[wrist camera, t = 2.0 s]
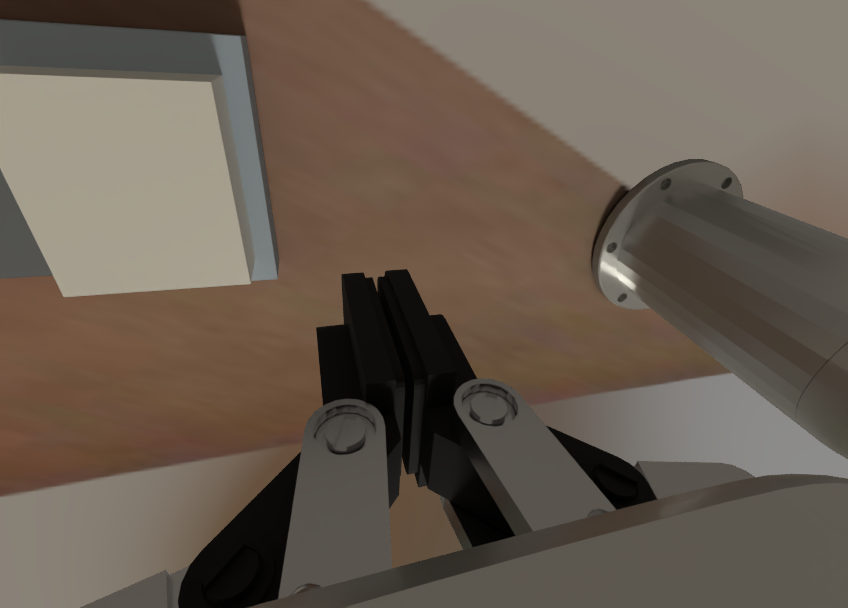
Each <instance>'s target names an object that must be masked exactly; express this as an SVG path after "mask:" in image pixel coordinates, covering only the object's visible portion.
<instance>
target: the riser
mask: <svg viewBox="0 0 848 608" xmlns="http://www.w3.org/2000/svg"><path fill="white" fill-rule="evenodd" d="M1 65H9V66H31V67H54V68H76V69H99V70H121V71H144V72H166V73H189V74H211V75H222V76H223V82H224V87H225V93H226V98H227V104H228V109H229V115H230V120H231V126H232V131H233V137H234V142H235V148H236V153H237V159H238V164H239V170H240V175H241V180H242V186H243V191H244V197H245V202H246V208H247V213H248V219H249V224H250V230H251V235H252V241H253V246H254V252H255V263H254V268H253V274H252V279H251V281H257V280H271V279H278V268H279V255H278V249H277V242H276V235H275V228H274V221H273V215H272V208H271V201H270V194H269V188H268V181H267V174H266V167H265V160H264V154H263V147H262V140H261V133H260V127H259V120H258V113H257V106H256V99H255V93H254V86H253V79H252V72H251V66H250V59H249V52H248V45H247V38H246V35H231V34H216V33H201V32H186V31H171V30H156V29H141V28H126V27H111V26H96V25H81V24H66V23H51V22H37V21H22V20H7V19H0V66H1Z"/></svg>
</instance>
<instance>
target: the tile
mask: <svg viewBox="0 0 848 608" xmlns="http://www.w3.org/2000/svg"><path fill="white" fill-rule="evenodd" d="M0 169H1V171H2V173H3V175H4V177H5V179H6V181H7V183H8V185H9V187H10V190H11V192H12V194H13V196H14V198H15V200H16V202H17V204H18V206H19V208H20V210H21V212H22V214H23V216H24V218H25V220H26V222H27V224H28V226H29V228H30V230H31V232H32V234H33V236H34V238H35V240H36V242H37V244H38V246H39V248H40V250H41V252H42V254H43V256H44V258H45V260H46V262H47V264H48V266H49V268H50V270H51V272H52V274H53V276H54V278H55V280H56V282H57V284H58V286H59V288H60V290H61V292H62V294H63V297H71V296H86V295H100V294H114V293H128V292H142V291H156V290H171V289H185V288H199V287H213V286H227V285H242V284H251V279H252V274H253V268H254V263H255V252H254V246H253V241H252V235H251V230H250V224H249V219H248V213H247V208H246V202H245V197H244V191H243V186H242V180H241V175H240V170H239V164H238V159H237V153H236V148H235V142H234V137H233V131H232V126H231V120H230V115H229V109H228V104H227V98H226V93H225V87H224V82H223V76H222V75H211V74H189V73H166V72H144V71H121V70H99V69H76V68H54V67H31V66H9V65H1V66H0Z"/></svg>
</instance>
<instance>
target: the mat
mask: <svg viewBox="0 0 848 608" xmlns="http://www.w3.org/2000/svg"><path fill="white" fill-rule="evenodd" d="M51 275H53V274H52V272H51V270H50V268H49V266H48V264H47V262H46V260H45V258H44V256H43V254H42V252H41V250H40V248H39V246H38V244H37V242H36V240H35V238H34V236H33V234H32V232H31V230H30V228H29V226H28V224H27V222H26V220H25V218H24V216H23V214H22V212H21V210H20V208H19V206H18V204H17V202H16V200H15V198H14V196H13V194H12V192H11V190H10V187H9V185H8V183H7V181H6V179H5V177H4V175H3V173H2V171H1V169H0V278H17V277H34V276H51Z"/></svg>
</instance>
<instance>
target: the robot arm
mask: <svg viewBox="0 0 848 608" xmlns="http://www.w3.org/2000/svg"><path fill="white" fill-rule="evenodd" d="M592 273H593V276H594V280H595V284H596V285H597V287H598V289H599V290H600V292H601V293H602V294H603V295H604V296H605V297H606V298H607V299H608V300H610V301H611V302H612V303H614V304H615V305H617V306H620V307H623V308H626V309H635V310H638V309H648V308H651V309H652V310H654V311H655V312H656V313H658V314H659V315H660V316H661V317H663V318H664V319H665V320H666V321H668V322H669V323H670V324H671V325H673V326H674V327H675V328H677V329H678V330H679V331H680V332H682V333H683V334H684V335H685V336H687V337H688V338H689V339H690V340H692V341H693V342H694V343H695V344H697V345H698V346H699V347H701V348H702V349H703V350H704V351H706V352H707V353H708V354H709V355H711V356H712V357H713V358H714V359H716V360H717V361H718V362H719V363H721V364H722V365H723V366H725V367H726V368H727V369H728V370H730V371H731V372H732V373H733V374H735V375H736V376H737V377H738V378H740V379H741V380H742V381H743V382H745V383H746V384H747V385H749V386H750V387H751V388H752V389H754V390H755V391H756V392H757V393H759V394H760V395H761V396H762V397H764V398H765V399H766V400H767V401H769V402H770V403H771V404H773V405H774V406H775V407H776V408H778V409H779V410H780V411H782V412H783V413H784V414H785V415H787V416H788V417H789V418H791V419H792V420H793V421H794V422H796V423H797V424H799V425H800V426H801V427H802V428H803V429H805V430H806V431H807V432H809V433H810V434H811V435H812V436H814V437H815V438H816V439H818V440H819V441H820V442H822V443H823V444H825V445H826V446H827V447H829V448H830V449H832V450H833V451H835V452H836V453H838V454H840V455H842V456H843V457H845V458H847V459H848V239H847V238H845V237H842V236H839V235H837V234H834V233H832V232H829V231H826V230H824V229H821V228H818V227H816V226H813V225H811V224H808V223H805V222H803V221H800V220H797V219H795V218H792V217H790V216H787V215H784V214H781V213H779V212H776V211H774V210H771V209H769V208H766V207H763V206H761V205H758V204H755V203H753V202H750V201H748V200H745V199H743V193H742V188H741V184H740V182H739V180H738V178H737V177H736V175H735V174H734V173H733V172H732V171H731V170H730V169H729V168H727V167H725V166H722V165H720V164H718V163H715V162H711V161H707V160H703V159H688V160H684V161H679V162H675V163H673V164H670V165H668V166H665V167H663V168H661V169H659V170H657V171H656V172H654V173H652V174H651V175H649V176H647V177H646V178H644V179H643V180H642V181H641V182H640V183H638V184H637V185H636V186H635V187H633V188H632V189H631V190H630V191H629V192H628V193H627V194H626V195H625V196H624V197H623V199H622V200H621V201H620V202H619V203H618V204H617V205H616V207H615V208H614V210H613V211H612V212H611V214H610V215H609V217H608V218H607V220H606V222H605V224H604V226H603V227H602V229H601V231H600V233H599V236H598V239H597V242H596V245H595V248H594V254H593V259H592ZM342 296H343V314H344V325H335V326H325V327H316V330H317V341H318V352H319V364H320V375H321V386H322V398H323V406H322V407H321V408H319V409H318V410H317V411H315V412H314V413H313V415H312V416H311V417H310V418H309V420H308V422H307V425H306V427H305V430H304V437H303V443H302V450H301V452H300V453H299V454H298V455H297V456H296V457H295V458H294V459H293V460H292V461H291V462H290V463H289V464H288V465H287V466H286V467H285V468H284V469H283V470H282V471H281V472H280V473H279V474H278V475H277V476H276V477H275V478H274V479H273V480H272V481H271V482H270V483H269V484H268V485H267V486H266V487H265V488H264V489H263V490H262V491H261V492H260V493H259V494H258V495H257V496H256V497H255V498H254V499H253V500H252V501H251V502H250V503H249V504H248V505H247V506H246V507H245V508H244V509H243V510H242V511H241V512H240V513H239V514H238V515H237V516H236V517H235V518H234V519H233V520H232V521H231V522H230V523H229V524H228V525H227V526H226V527H225V528H224V529H223V530H222V531H221V532H220V533H219V534H218V535H217V536H216V537H215V538H214V539H213V540H212V541H211V542H210V543H209V544H208V545H207V546H206V547H205V548H204V549H203V550H202V551H201V552H200V553H199V555H198V556H197V557H196V558H195V560H194V561H193V562H192V563H191V565H190V566H188V567H186V568H184V569H182V570H180V571H177V572H175V573H173V574H171V575H169V574H168V573H167V571H166V570H164V571H162V572H160V573H158V574H155V575H153V576H151V577H149V578H146V579H144V580H142V581H140V582H137V583H135V584H133V585H130V586H128V587H126V588H124V589H122V590H119V591H117V592H115V593H112V594H110V595H108V596H106V597H103V598H101V599H99V600H96V601H94V602H92V603H90V604H87V605H85V606H83V607H81V608H848V479H846V478H839V477H833V476H827V475H808V474H784V475H768V476H762V477H754V476H752V475H751V474H750V473H748V472H747V471H745V470H742V469H740V468H738V467H736V466H733V465H729V464H724V463H699V462H648V461H638V462H637V463H636V465H635V466H632V465H631V464H629V463H628V462H626V461H624V460H622V459H621V458H619V457H617V456H614V455H612V454H610V453H607V452H605V451H603V450H600V449H598V448H596V447H594V446H591V445H589V444H587V443H585V442H582V441H580V440H578V439H576V438H573V437H571V436H569V435H567V434H564V433H562V432H560V431H557V430H555V429H553V428H551V427H548V426H546V425H545V424H544V423H543V422H542V421H541V419H540V418H539V417H538V416H537V415H536V414H535V412H534V411H533V410H532V409H531V408H530V406H529V405H528V404H527V403H526V402H525V400H524V399H523V398H522V397H521V396H520V394H518V393H517V392H516V391H515V390H514V389H513V388H512V387H510V386H508V385H506V384H505V383H503V382H500V381H496V380H493V379H483V378H481V379H477V378H476V376H475V374H474V372H473V370H472V368H471V366H470V364H469V363H468V361H467V359H466V357H465V355H464V353H463V351H462V349H461V348H460V346H459V344H458V342H457V340H456V338H455V336H454V334H453V332H452V331H451V329H450V327H449V325H448V323H447V321H446V319H445V318H444V316H443V315H441V314H439V315H429V313H428V311H427V309H426V307H425V305H424V303H423V301H422V299H421V297H420V295H419V293H418V291H417V288H416V286H415V284H414V282H413V280H412V278H411V276H410V274H409V272H408V270H407V269H404V270H391V271H386V272H385V276H384V277H378V293H377V290H376V287H375V284H374V281H373V278H372V277H371V278H365V276H364V273H350V274H342ZM402 459H403V463H404V467H405V470H406V472H407V474H412V473H415V477H416V481H417V484H418V487H422V486H426V485H427V487H428V489H430V490H432V491H433V492H435V493H437V494H439V495H440V500H441V503H442V506H443V509H444V511H445V513H446V515H447V517H448V519H449V521H450V524H451V526H452V528H453V530H454V531H455V534H456V536H457V538H458V540H459V542H460V544H461V546H462V548H463V550H461V551H457V552H453V553H450V554H446V555H442V556H438V557H434V558H430V559H427V560H423V561H419V562H415V563H412V564H408V565H405V566H400V567H397V568H393V569H392V561H391V540H390V519H389V509H390V507H391V506H392V504H393V503H394V501H395V500H396V498H397V497H398V495H399V481H400V476H401V461H402Z"/></svg>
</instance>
